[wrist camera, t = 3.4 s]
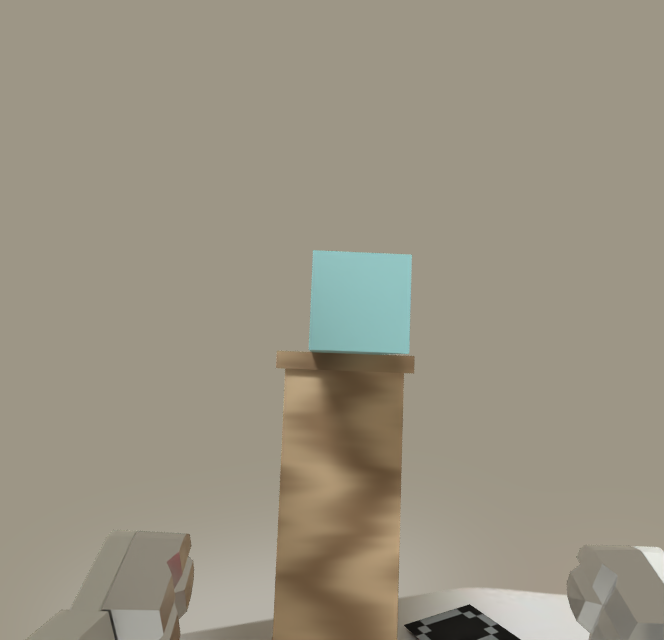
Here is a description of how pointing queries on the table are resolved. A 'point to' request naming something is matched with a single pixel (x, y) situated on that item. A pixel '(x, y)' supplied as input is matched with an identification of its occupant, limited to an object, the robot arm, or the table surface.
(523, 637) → the table surface
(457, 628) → the red board with handle
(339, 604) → the pedestal
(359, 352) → the rod
